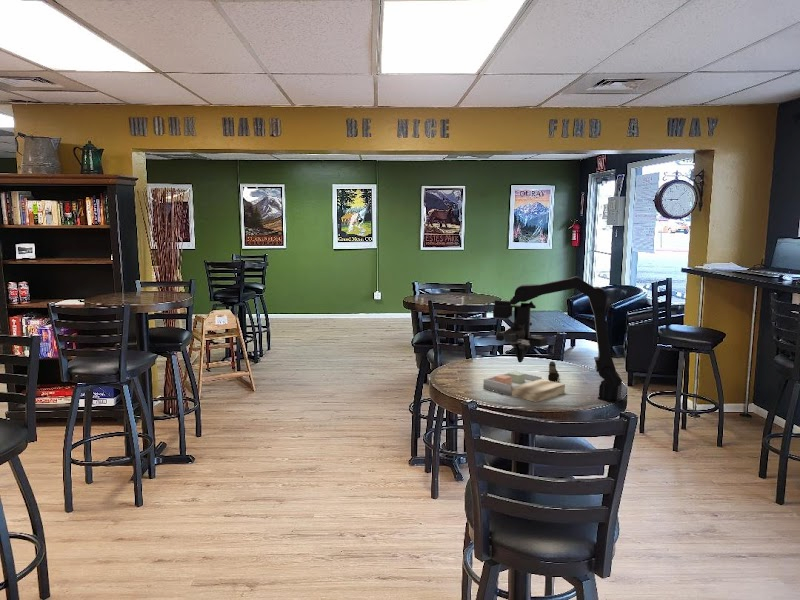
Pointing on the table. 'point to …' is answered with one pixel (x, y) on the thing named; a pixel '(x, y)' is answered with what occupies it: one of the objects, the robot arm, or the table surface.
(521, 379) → the sage block
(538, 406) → the table surface
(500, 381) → the terracotta block
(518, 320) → the robot arm
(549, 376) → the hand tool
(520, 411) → the table surface
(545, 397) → the birch board
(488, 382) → the tray
